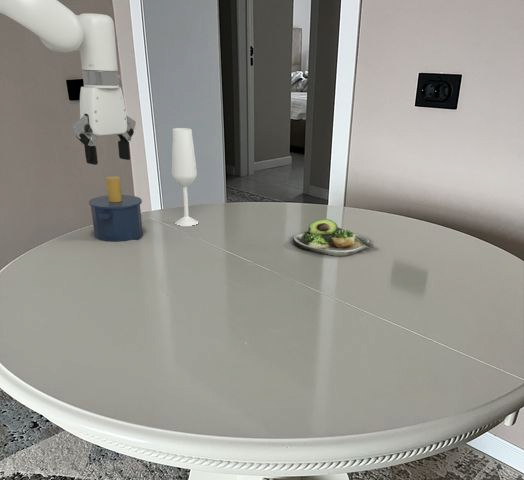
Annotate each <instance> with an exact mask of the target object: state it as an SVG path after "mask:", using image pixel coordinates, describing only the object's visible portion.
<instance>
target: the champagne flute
mask: <svg viewBox="0 0 524 480" xmlns="http://www.w3.org/2000/svg"><path fill="white" fill-rule="evenodd" d="M171 138H172V139H171V140H172V141H171V142H172V144H171V170H170V171H171V177H172V179H173V180H174V182H176V183H177V184H178V185H179V186H180V187H182V197H183V216H182V217H181V218H179V219H177V220H176V221H175V222H174V225H175V224H177V225H176V226H178V225H180V226H179V227H193V226H192V225H195V226H197V225H196V224H198V222H199V221H198V220H196V219H194V218H192V217H191V216H190V215H189V199H188V198H189V196H188V193H189V192H188V187H189V186H191V184H193V183H194V181H195V180H196V179H197V176H198V170H197V169H198V168H197V161H196V160H197V159H196V154H195V153H196V152H195V146H194V138H193V130H192V128H189V127H175V128H172V137H171ZM198 225H199V224H198Z"/></svg>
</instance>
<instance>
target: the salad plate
mask: <svg viewBox="0 0 524 480" xmlns="http://www.w3.org/2000/svg"><path fill="white" fill-rule="evenodd" d="M307 228H308V230H307V231H305V232H302V233H299V234H295V235H294V236H292V237H293V238H292V241H293V244H295V246H296V247H297V248H299V249H301V250H305V251H308V250H309V251H308V252H311V251H312V252H311V253H315V252H317V253H316V254H320V253H322V255H327V254H328V256H332V255H333V257H348V256H347V255H349V256H353V255H355V254H357V253H359V252H362V251H363V250H364V249H374V248H375V247H376V246H375V245H374V244H372V243H370V239H369V238H368V237H367V236H365V235H362V234H357V233H354V232H353V231H351V230H349V229H347V230H344V229H343V228H341V227H338V224H337V222H335V221H334V220H332V219H327V218H319V219H317V220H315V221H312V222H311V223H309V226H308V227H307Z"/></svg>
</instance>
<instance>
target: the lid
mask: <svg viewBox="0 0 524 480" xmlns="http://www.w3.org/2000/svg"><path fill="white" fill-rule="evenodd" d="M105 181H106V182H105V183H106V189H107V191H106V192H107V194H106V195H100V196H96V197H93V198H91V199H89V200H88V205H89V206H90V207H91V206H92V207H94V208H100V209H124V208H131V207H135V206H138V205H140V206H141V204H142V203H143V200H142V198H141V197H138V196H136V195H131V194H130V195H129V194H122V186H121V185H122V184H121V177H120V176H116V175H111V176H109V175H108V176H106V177H105Z"/></svg>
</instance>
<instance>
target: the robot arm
mask: <svg viewBox="0 0 524 480" xmlns="http://www.w3.org/2000/svg"><path fill="white" fill-rule="evenodd" d="M0 14H2V15H4V16H6V17H8V18H10V19H12V21H14V22H17V23H18V24H20V25H21V26H23V27H24V28H26V29H28V30H29V31H30V32H32V33H33V34H35V35H36V36H38V37H39V40H40V41H41V43H42V44H43V45H44V46H45V47H46V48H47V49H49V50H51V51H53V52H56V53H72V52H75V51H79V56H80V62H81V71H82V79H83V80H82V81H83V86H80V92H79V119H78V120H77V121H75V122H74V123H73V124H72V125H71V128H72V130H73V132H74V134H75V137H76V138H77V139H78V141H79V142H80V144H82V146H84V147H83V148H84V154H85V155H84V156H85V159H86V160H85V161H86V163H87V164H88V165H93V166H95V165H98V163H99V161H98V152H97V146H96V145H95V143H96V140H97V138H98V137H107V136H108V137H111V136H117V138H118V139H119V140H118V141H117V147H118V157H119V159H120V160H125V161H130V160H131V151H130V143H131V141H132V137H133V135H134V133H135V128H136V124H137V123H136V121H135V120H134V119H133V118H131V117H129V116H128V115H127V110H126V109H127V108H126V103H125V99H124V98H125V97H124V95H123V90H122V87H121V86H120V82H121V80H122V76H121V74H119V70H118V69H119V68H118V67H119V65H118V55H117V43H116V32H115V31H116V30H115V24H114V23H115V22H114V20H113V18H112V17H111V16H110V15H107V14H104V13H103V14H102V13H93V12H92V13H89V12H88V13H87V12H85V13H80V14H75V13H74V11H72V10H71V9H70V8H69V7H67V6H66V5H64V4H63V3H61V2H60V1H59V0H0Z"/></svg>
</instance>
